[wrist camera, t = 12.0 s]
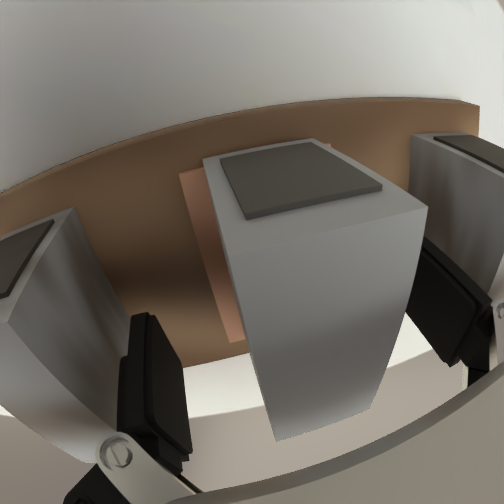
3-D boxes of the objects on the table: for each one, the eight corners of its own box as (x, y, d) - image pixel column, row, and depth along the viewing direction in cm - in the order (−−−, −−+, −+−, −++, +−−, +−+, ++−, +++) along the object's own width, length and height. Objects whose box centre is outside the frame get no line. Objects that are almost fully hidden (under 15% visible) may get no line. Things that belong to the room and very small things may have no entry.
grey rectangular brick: (201, 154, 10) (226, 248, 5) (312, 134, 10) (429, 199, 5) (244, 334, 15) (275, 441, 10) (318, 313, 15) (369, 408, 10)
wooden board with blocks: (-14, 201, 9) (-104, 305, 3) (460, 100, 12) (570, 144, 6) (88, 365, 16) (78, 470, 10) (436, 268, 19) (501, 338, 12)
